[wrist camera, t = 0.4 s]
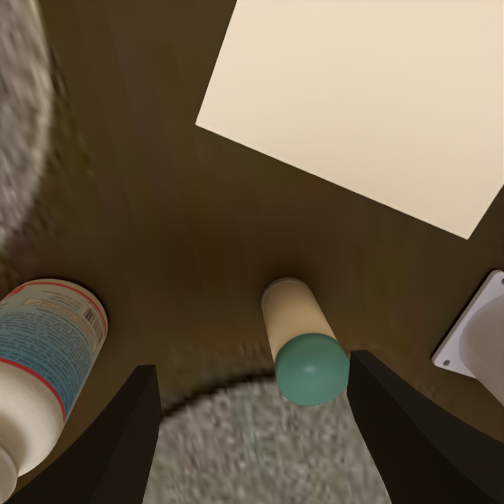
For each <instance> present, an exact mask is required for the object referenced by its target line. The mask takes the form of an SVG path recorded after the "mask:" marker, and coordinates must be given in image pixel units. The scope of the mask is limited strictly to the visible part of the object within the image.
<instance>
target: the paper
mask: <svg viewBox="0 0 504 504" xmlns="http://www.w3.org/2000/svg"><path fill="white" fill-rule="evenodd" d="M195 125H198V126H200V127H202V128H205V129H207V130H210V131H212V132H214V133H217V134H219V135H221V136H224V137H226V138H228V139H231V140H233V141H236V142H238V143H240V144H243V145H245V146H247V147H250V148H252V149H254V150H257V151H259V152H262V153H264V154H266V155H269V156H271V157H273V158H276V159H278V160H280V161H283V162H285V163H288V164H290V165H292V166H295V167H297V168H299V169H302V170H304V171H307V172H309V173H311V174H314V175H316V176H318V177H321V178H323V179H325V180H328V181H330V182H333V183H335V184H337V185H340V186H342V187H344V188H347V189H349V190H351V191H354V192H356V193H359V194H361V195H363V196H366V197H368V198H370V199H373V200H375V201H377V202H380V203H382V204H385V205H387V206H389V207H392V208H394V209H396V210H399V211H401V212H404V213H406V214H408V215H411V216H413V217H415V218H418V219H420V220H422V221H425V222H427V223H430V224H432V225H434V226H437V227H439V228H441V229H444V230H446V231H448V232H451V233H453V234H456V235H458V236H460V237H463V238H465V239H467V240H468V238H469V237H470V235H471V234H472V232H473V231H474V229H475V227H476V226H477V224H478V223H479V221H480V220H481V218H482V217H483V215H484V214H485V212H486V210H487V209H488V207H489V206H490V204H491V203H492V201H493V200H494V198H495V197H496V195H497V193H498V192H499V190H500V189H501V187H502V186H503V184H504V0H237V3H236V6H235V9H234V12H233V15H232V18H231V21H230V23H229V26H228V29H227V32H226V35H225V38H224V41H223V44H222V47H221V50H220V53H219V56H218V59H217V62H216V65H215V68H214V71H213V74H212V77H211V79H210V82H209V85H208V88H207V91H206V94H205V97H204V100H203V103H202V106H201V109H200V112H199V115H198V118H197V121H196V124H195Z"/></svg>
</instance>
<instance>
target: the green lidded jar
mask: <svg viewBox="0 0 504 504" xmlns="http://www.w3.org/2000/svg"><path fill="white" fill-rule="evenodd" d="M261 308H262V312H263V317H264V321H265V326H266V330H267V334H268V339H269V343H270V347H271V352H272V356H273V360H274V369H275V374H276V378H277V382H278V387H279V389H280V391H281V393H282V394H283V396H284V397H285V398H287V399H288V400H289V401H291V402H293V403H296V404H299V405H304V406H314V405H320V404H323V403H326V402H328V401H331V400H332V399H334V398H336V397H337V396H338V395H339V394H341V393H342V392H343V390H344V389H345V388H346V386H347V385H348V376H349V367H350V362H349V360H348V358H347V357H346V355H345V353H344V351H343V349H342V347H341V345H340V344H339V343H338V342H337V340H336V338H335V336H334V334H333V332H332V330H331V328H330V326H329V324H328V322H327V321H326V319H325V317H324V315H323V313H322V311H321V309H320V307H319V305H318V303H317V301H316V299H315V298H314V296H313V294H312V292H311V290H310V288H309V286H308V285H307V284H306V283H305V282H304V281H302V280H300V279H298V278H295V277H282V278H279V279H276V280H274V281H273V282H271V283H270V284H269V285H268V286H267V287H266V288H265V289H264V291H263V293H262V295H261Z"/></svg>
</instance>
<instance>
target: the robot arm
mask: <svg viewBox="0 0 504 504" xmlns="http://www.w3.org/2000/svg"><path fill="white" fill-rule="evenodd" d="M503 278H504V272H503V271H501V270H494V271H493V272H491V273H490V275H489V276H488V277H487V279H486V280H485V282H484V283H483V285H482V286H481V288H480V289H479V290H478V292H477V293H476V295H475V296H474V298H473V299H472V301H471V302H470V303H469V305H468V306H467V308H466V309H465V311H464V312H463V314H462V315H461V316H460V318H459V319H458V321H457V322H456V324H455V325H454V327H453V328H452V329H451V331H450V332H449V334H448V335H447V337H446V338H445V340H444V341H443V342H442V344H441V345H440V347H439V348H438V350H437V351H436V353H435V354H434V355H433V357H432V362H433V363H434V364H435V365H436V366H438V367H441V368H444V369H447V370H451V371H454V372H457V373H460V374H463V375H467V376H470V377H473V378H476V379H478V380H479V381H480V382H481V383H482V384H483V385H484V386H485V387H486V388H487V389H488V390H489V391H490V392H491V393H492V394H493V396H494V397H495V398H496V399H497V400H498V401H499V402H500V403H501V404H502V405H503V406H504V280H503V281H502V279H503ZM501 281H502V282H501ZM444 361H445V362H444ZM347 397H348V400H349V404H350V407H351V410H352V413H353V416H354V419H355V421H356V424H357V426H358V428H359V430H360V432H361V435H362V437H363V439H364V441H365V443H366V445H367V448H368V450H369V452H370V454H371V456H372V458H373V460H374V462H375V465H376V467H377V469H378V471H379V473H380V475H381V477H382V480H383V482H384V484H385V487H386V489H387V491H388V494H389V496H390V499H391V502H392V504H504V444H503V443H501V442H499V441H497V440H495V439H493V438H492V437H490V436H488V435H486V434H484V433H482V432H480V431H479V430H477V429H475V428H473V427H472V426H470V425H468V424H466V423H465V422H463V421H462V420H460V419H458V418H457V417H455V416H453V415H452V414H450V413H449V412H447V411H446V410H444V409H442V408H441V407H439V406H438V405H437V404H435V403H434V402H432V401H431V400H430V399H428V398H427V397H425V396H424V395H423V394H421V393H420V392H419V391H417V390H416V389H415V388H413V387H412V386H411V385H409V384H408V383H407V382H405V381H404V380H403V379H402V378H400V377H399V376H398V375H397V374H396V373H394V372H393V371H392V370H391V369H389V368H388V367H387V366H386V365H385V364H383V363H382V362H381V361H380V360H379V359H377V358H376V357H375V356H374V355H373V354H371V353H370V352H369V351H368V350H362V351H351V357H350V367H349V376H348V385H347ZM160 417H161V402H160V395H159V388H158V381H157V374H156V367H155V365H141V366H137V367H136V368H135V369H134V371H133V372H132V373H131V375H130V376H129V378H128V379H127V380H126V382H125V383H124V384H123V386H122V387H121V388H120V390H119V391H118V392H117V394H116V395H115V396H114V397H113V399H112V400H111V401H110V402H109V403H108V405H107V406H106V407H105V408H104V410H103V411H102V412H101V413H100V414H99V416H98V417H97V418H96V419H95V420H94V421H93V422H92V423H91V425H90V426H89V427H88V428H87V429H86V430H85V431H84V432H83V433H82V435H81V436H80V437H79V438H78V439H77V440H76V441H75V442H74V443H73V444H72V445H71V446H70V447H69V448H68V449H67V450H66V451H65V452H64V453H63V454H62V455H61V456H59V457H58V458H57V459H56V460H55V461H54V462H53V463H52V464H51V465H49V466H48V467H47V468H46V469H45V470H44V471H42V472H41V473H40V474H39V475H38V476H37V477H35V478H34V479H33V480H32V481H31V482H30V483H28V484H27V485H26V486H25V487H23V488H22V489H21V490H20V491H18V492H17V493H16V494H14V495H13V496H12V497H11V498H9V499H8V500H7V501H5V502H4V503H2V504H142V502H143V497H144V493H145V489H146V485H147V481H148V477H149V473H150V469H151V464H152V460H153V456H154V452H155V448H156V443H157V439H158V433H159V425H160Z"/></svg>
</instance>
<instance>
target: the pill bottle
mask: <svg viewBox="0 0 504 504" xmlns="http://www.w3.org/2000/svg"><path fill="white" fill-rule="evenodd" d="M107 330H108V321H107V316H106V313H105V311H104V308H103V306H102V305H101V303H100V302H99V301H98V299H97V298H96V297H95V296H94V295H93V294H92V293H91V292H89V291H88V290H86V289H85V288H83V287H81V286H79V285H77V284H74V283H71V282H68V281H64V280H57V279H38V280H33V281H29V282H26V283H24V284H22V285H20V286H18V287H17V288H15V289H14V290H13V291H12V292H11V293H9V294H8V295H7V296H6V297H5V298H4V299H3V300H2V301H1V302H0V504H2V503H4V502H5V501H7V500H8V498H9V497H10V495H11V494H12V493H13V491H14V489H15V486H16V482H17V478H18V477H19V476H21V475H23V474H25V473H27V472H28V471H30V470H32V469H33V468H34V467H36V466H37V465H38V464H39V463H41V462H42V461H43V460H44V459H45V458H46V457H47V456H48V454H49V453H50V452H51V450H52V449H53V447H54V446H55V444H56V442H57V440H58V438H59V436H60V434H61V432H62V430H63V428H64V426H65V424H66V422H67V420H68V417H69V415H70V413H71V411H72V409H73V407H74V405H75V402H76V400H77V398H78V396H79V394H80V392H81V390H82V388H83V386H84V384H85V381H86V379H87V377H88V375H89V373H90V371H91V369H92V366H93V364H94V362H95V360H96V358H97V356H98V354H99V351H100V349H101V347H102V345H103V343H104V341H105V338H106V335H107Z"/></svg>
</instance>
